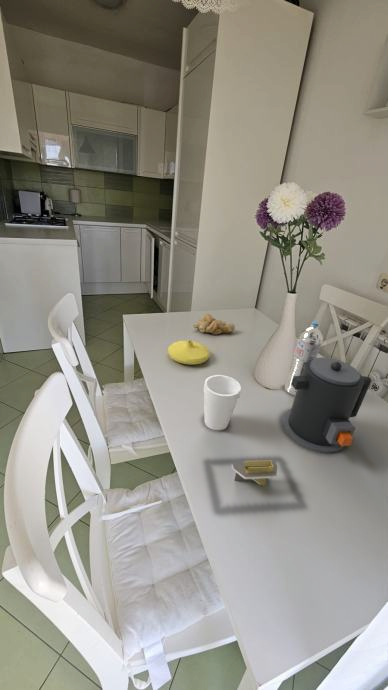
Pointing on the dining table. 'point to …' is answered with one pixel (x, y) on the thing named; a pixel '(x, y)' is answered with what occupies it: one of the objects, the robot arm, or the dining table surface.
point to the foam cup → (220, 400)
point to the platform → (255, 470)
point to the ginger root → (213, 325)
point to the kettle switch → (344, 438)
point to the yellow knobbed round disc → (188, 352)
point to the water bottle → (304, 353)
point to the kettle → (324, 403)
